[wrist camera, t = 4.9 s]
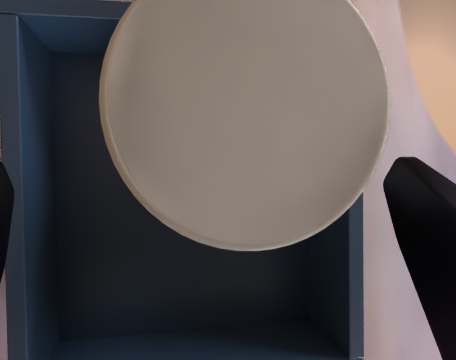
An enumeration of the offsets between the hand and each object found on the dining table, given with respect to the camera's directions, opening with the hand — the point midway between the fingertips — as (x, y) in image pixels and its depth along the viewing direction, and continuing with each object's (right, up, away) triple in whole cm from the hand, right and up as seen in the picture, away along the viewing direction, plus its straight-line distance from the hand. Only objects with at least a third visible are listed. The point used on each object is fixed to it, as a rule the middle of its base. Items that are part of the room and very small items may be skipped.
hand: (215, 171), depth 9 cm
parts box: (-2, -1, +9) cm, 9 cm away
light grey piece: (-1, +1, +8) cm, 8 cm away
